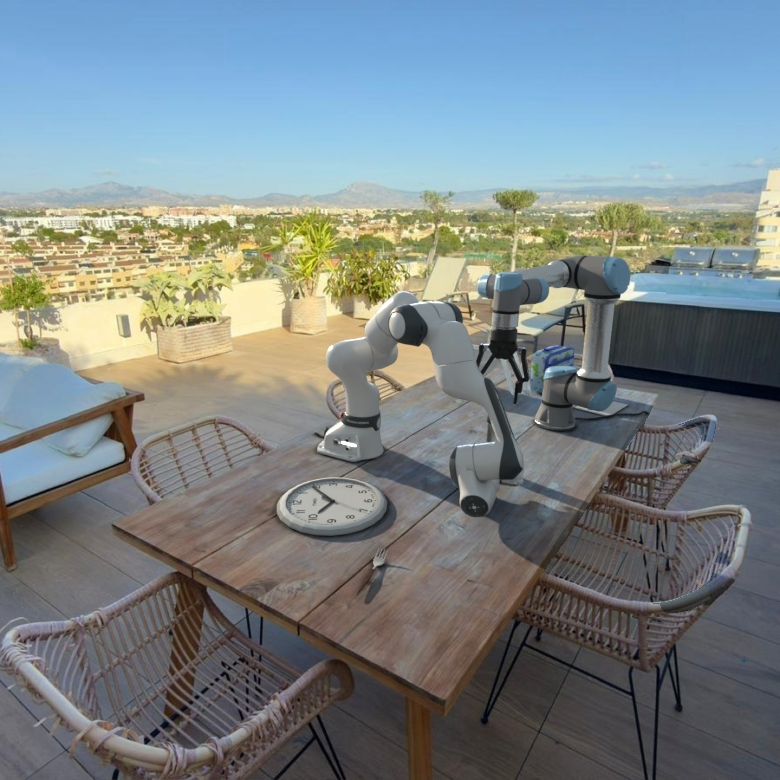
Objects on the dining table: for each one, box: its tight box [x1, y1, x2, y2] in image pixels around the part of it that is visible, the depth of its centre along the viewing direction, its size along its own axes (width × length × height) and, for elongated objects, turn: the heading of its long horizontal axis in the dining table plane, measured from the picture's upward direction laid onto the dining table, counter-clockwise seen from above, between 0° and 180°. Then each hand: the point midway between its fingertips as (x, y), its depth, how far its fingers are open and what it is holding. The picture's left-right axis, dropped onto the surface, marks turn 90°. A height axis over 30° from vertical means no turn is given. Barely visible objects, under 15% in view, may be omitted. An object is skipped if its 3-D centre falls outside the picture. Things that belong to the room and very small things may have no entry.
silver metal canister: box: [486, 422, 497, 442], centre depth 162 cm, size 5×5×18 cm
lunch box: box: [529, 345, 575, 394], centre depth 245 cm, size 26×11×21 cm, turn 134°
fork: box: [356, 545, 389, 596], centre depth 114 cm, size 3×16×2 cm, turn 160°
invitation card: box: [573, 400, 629, 416], centre depth 226 cm, size 21×1×15 cm
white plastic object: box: [450, 342, 531, 397], centre depth 245 cm, size 37×45×31 cm
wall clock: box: [276, 476, 388, 537], centre depth 142 cm, size 30×2×30 cm
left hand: (490, 459), depth 157 cm, fingers open, 8 cm apart
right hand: (498, 400), depth 158 cm, fingers open, 9 cm apart
